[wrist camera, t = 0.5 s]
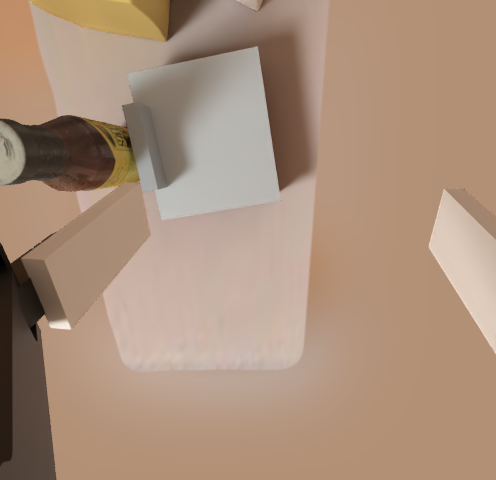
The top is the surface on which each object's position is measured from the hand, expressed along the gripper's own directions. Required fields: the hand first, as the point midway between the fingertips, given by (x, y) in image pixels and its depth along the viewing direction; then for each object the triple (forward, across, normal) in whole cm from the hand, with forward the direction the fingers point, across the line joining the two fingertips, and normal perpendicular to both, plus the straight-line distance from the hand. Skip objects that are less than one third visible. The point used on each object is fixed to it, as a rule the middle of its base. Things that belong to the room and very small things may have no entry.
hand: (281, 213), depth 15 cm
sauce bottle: (+23, -19, -4) cm, 30 cm away
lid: (+21, -9, -1) cm, 23 cm away
